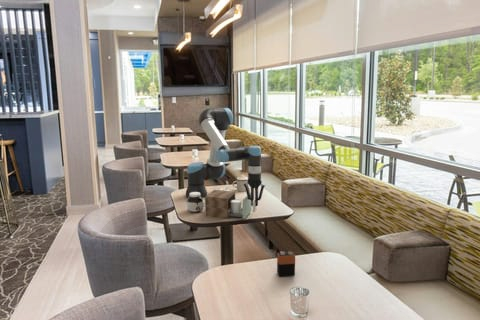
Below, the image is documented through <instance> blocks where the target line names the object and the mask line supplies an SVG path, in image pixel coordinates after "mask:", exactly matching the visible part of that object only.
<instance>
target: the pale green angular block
mask: <svg viewBox="0 0 480 320" xmlns="http://www.w3.org/2000/svg"><path fill="white" fill-rule="evenodd" d="M250 195H251V192H250ZM251 212H253V206H251V200H249V199H248V197H247V195H246V196H245V197H244V198H243V199H242V207H241V213H238V214H234V213H232V211H231V207H230V208H229V209H228V216H230V217H236V218H237V217H238V218H242V219H246V217H247V216H248V215H249V214H250V213H251Z"/></svg>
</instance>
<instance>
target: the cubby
mask: <svg viewBox="0 0 480 320" xmlns="http://www.w3.org/2000/svg"><path fill="white" fill-rule="evenodd" d="M231 200H236V191H232V190H231V191H230V190H217V189H214V190H212V191H211V192H209V193H207V196H205V197H204V201H205V206H204V207H205V209H204V211H205V218H206V217H208V218H215V219H216V218H217V219H225V220H228V219H229V218H230V217H231V216H228V209H229V208H230V207H231V202H230V201H231Z"/></svg>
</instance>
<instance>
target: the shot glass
mask: <svg viewBox="0 0 480 320" xmlns="http://www.w3.org/2000/svg"><path fill="white" fill-rule="evenodd" d="M230 202H231V211H232V213H234V214H238V213H241V208H242V206H243V200H241V199H235V200H231V201H230Z"/></svg>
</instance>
